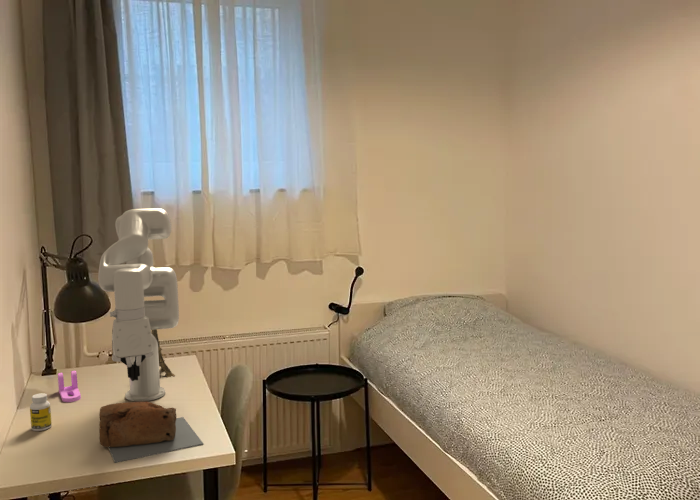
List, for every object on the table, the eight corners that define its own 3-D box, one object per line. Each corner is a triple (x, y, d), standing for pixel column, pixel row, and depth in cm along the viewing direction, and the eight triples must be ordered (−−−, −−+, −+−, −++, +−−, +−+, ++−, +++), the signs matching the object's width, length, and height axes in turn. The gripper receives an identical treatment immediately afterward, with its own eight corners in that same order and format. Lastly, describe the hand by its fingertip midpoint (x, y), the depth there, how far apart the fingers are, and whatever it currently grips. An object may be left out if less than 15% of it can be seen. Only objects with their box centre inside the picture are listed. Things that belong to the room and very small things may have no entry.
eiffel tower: (144, 381, 236) (141, 311, 233) (138, 373, 245) (134, 306, 242) (174, 376, 241) (171, 308, 238) (167, 368, 250) (164, 303, 247)
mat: (102, 433, 190) (102, 432, 190) (183, 417, 201) (183, 416, 201) (114, 463, 171) (114, 461, 171) (203, 444, 182) (203, 443, 181)
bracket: (58, 392, 226) (57, 372, 225) (76, 389, 229) (75, 369, 228) (63, 403, 215) (62, 382, 214) (82, 400, 217) (80, 379, 217)
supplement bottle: (29, 432, 191) (27, 399, 190) (33, 425, 197) (30, 393, 195) (50, 430, 193) (47, 397, 192) (53, 423, 198) (50, 391, 197)
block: (102, 440, 184) (176, 433, 189) (98, 450, 177) (176, 444, 182) (100, 401, 183) (175, 396, 188) (96, 411, 176) (175, 405, 181)
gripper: (103, 320, 175) (107, 387, 177) (161, 313, 182) (164, 378, 184) (99, 314, 181) (103, 379, 184) (155, 308, 188) (158, 371, 191)
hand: (134, 379), depth 184 cm, fingers closed
